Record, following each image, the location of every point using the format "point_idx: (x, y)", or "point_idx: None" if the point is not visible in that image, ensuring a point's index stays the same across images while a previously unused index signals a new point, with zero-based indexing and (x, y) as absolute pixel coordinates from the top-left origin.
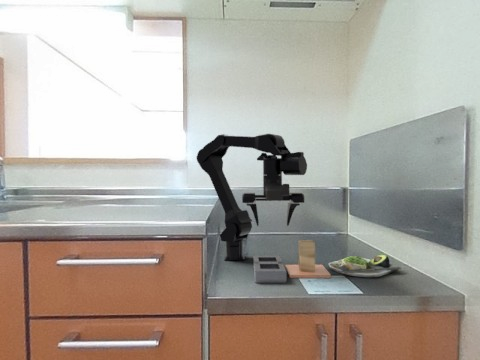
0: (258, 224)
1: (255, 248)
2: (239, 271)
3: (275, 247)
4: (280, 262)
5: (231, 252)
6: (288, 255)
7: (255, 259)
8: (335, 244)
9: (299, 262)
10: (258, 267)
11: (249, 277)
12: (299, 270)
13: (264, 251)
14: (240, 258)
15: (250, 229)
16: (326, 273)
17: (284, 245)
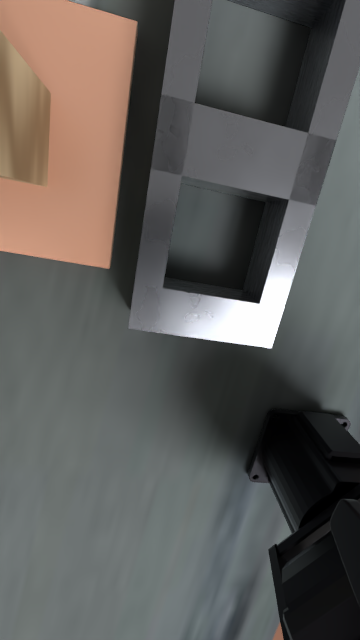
0: (351, 511)
1: (165, 581)
2: (348, 233)
3: (77, 593)
4: (168, 143)
5: (344, 432)
6: (46, 474)
7: (291, 256)
8: None
9: (34, 138)
10: (347, 31)
11: None
12: (54, 117)
13: (140, 539)
14: (284, 421)
15: (289, 588)
16: None
17: (30, 620)
